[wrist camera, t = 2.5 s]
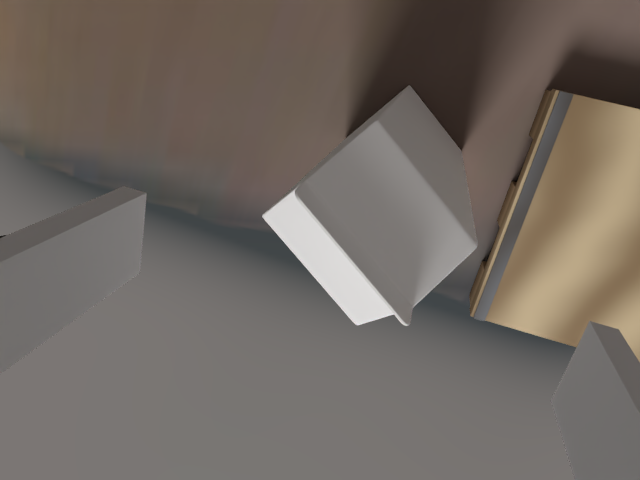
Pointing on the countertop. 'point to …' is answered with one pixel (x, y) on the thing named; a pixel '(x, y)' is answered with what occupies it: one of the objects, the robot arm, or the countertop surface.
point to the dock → (569, 227)
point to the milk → (382, 213)
